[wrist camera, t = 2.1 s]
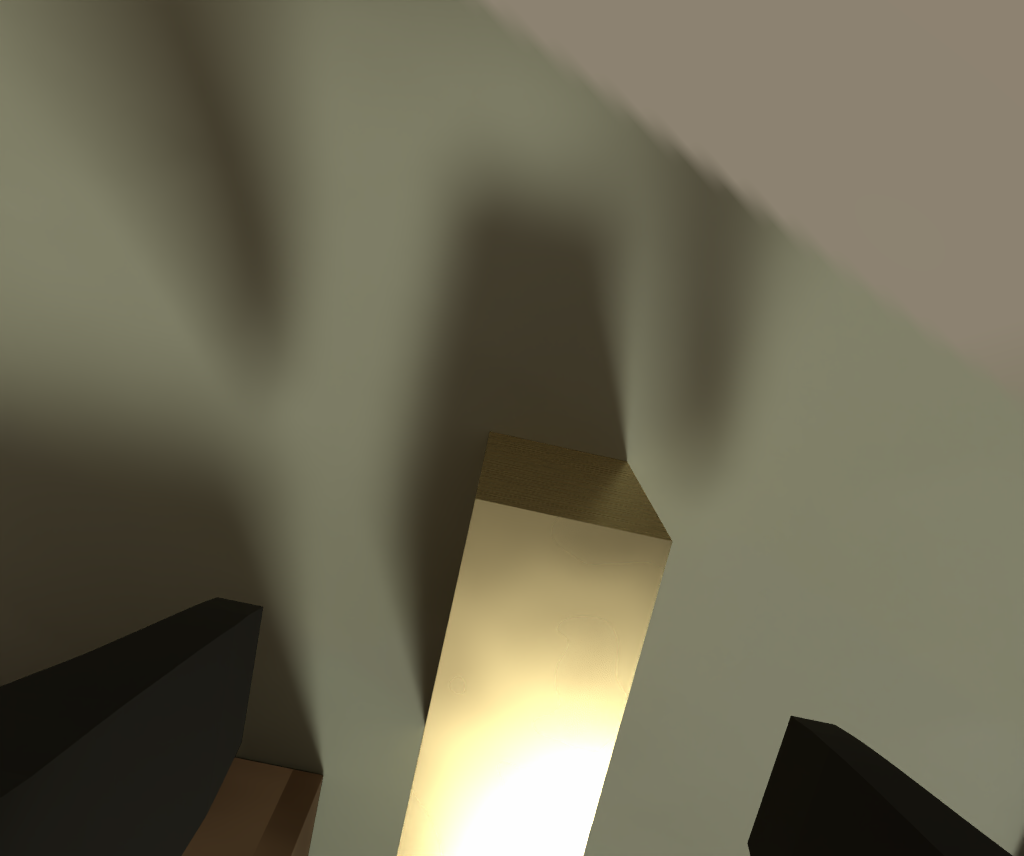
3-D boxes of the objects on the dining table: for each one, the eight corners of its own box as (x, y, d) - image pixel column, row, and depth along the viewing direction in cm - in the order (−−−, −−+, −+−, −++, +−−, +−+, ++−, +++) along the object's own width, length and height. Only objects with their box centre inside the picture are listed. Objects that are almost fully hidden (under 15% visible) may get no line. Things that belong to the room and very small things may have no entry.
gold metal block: (626, 460, 13) (672, 541, 9) (550, 748, 14) (560, 932, 10) (490, 430, 13) (475, 498, 9) (425, 722, 14) (387, 897, 10)
